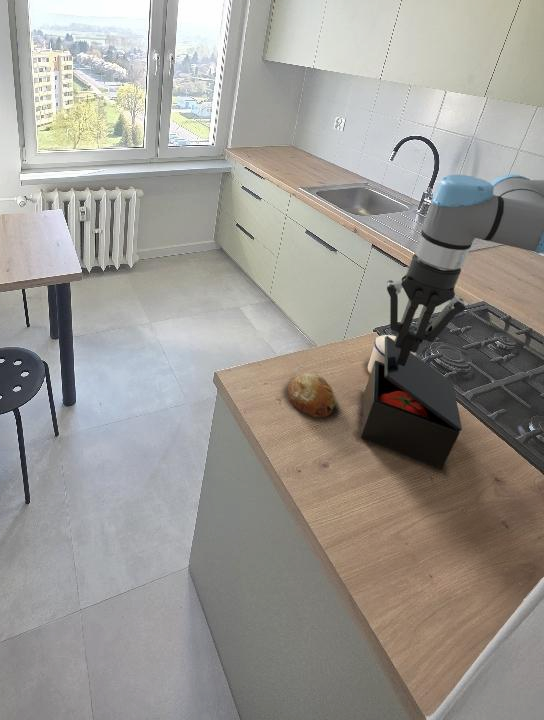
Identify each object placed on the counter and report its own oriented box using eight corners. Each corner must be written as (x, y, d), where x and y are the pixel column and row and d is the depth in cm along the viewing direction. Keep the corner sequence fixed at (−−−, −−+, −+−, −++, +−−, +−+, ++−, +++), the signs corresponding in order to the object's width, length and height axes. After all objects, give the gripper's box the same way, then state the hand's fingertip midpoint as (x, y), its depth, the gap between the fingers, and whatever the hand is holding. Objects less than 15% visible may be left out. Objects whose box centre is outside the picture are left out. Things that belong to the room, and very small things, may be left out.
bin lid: (384, 377, 80) (387, 375, 80) (384, 337, 90) (387, 335, 90) (458, 432, 77) (462, 430, 77) (450, 384, 88) (453, 382, 87)
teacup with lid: (408, 395, 99) (422, 357, 94) (366, 381, 102) (378, 344, 97) (403, 361, 109) (416, 325, 104) (365, 350, 112) (376, 315, 107)
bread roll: (309, 393, 103) (302, 362, 102) (347, 406, 94) (341, 372, 94) (283, 412, 97) (276, 379, 97) (321, 428, 89) (314, 392, 88)
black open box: (360, 439, 87) (373, 401, 83) (362, 396, 98) (375, 360, 93) (440, 472, 82) (459, 432, 77) (434, 422, 92) (451, 385, 87)
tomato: (427, 454, 84) (441, 426, 81) (373, 440, 86) (383, 412, 83) (415, 416, 92) (427, 389, 89) (365, 404, 95) (375, 377, 91)
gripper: (477, 260, 75) (435, 360, 85) (396, 242, 80) (365, 338, 90) (485, 281, 69) (439, 386, 78) (397, 260, 74) (364, 360, 83)
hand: (400, 360), depth 84 cm, fingers closed
